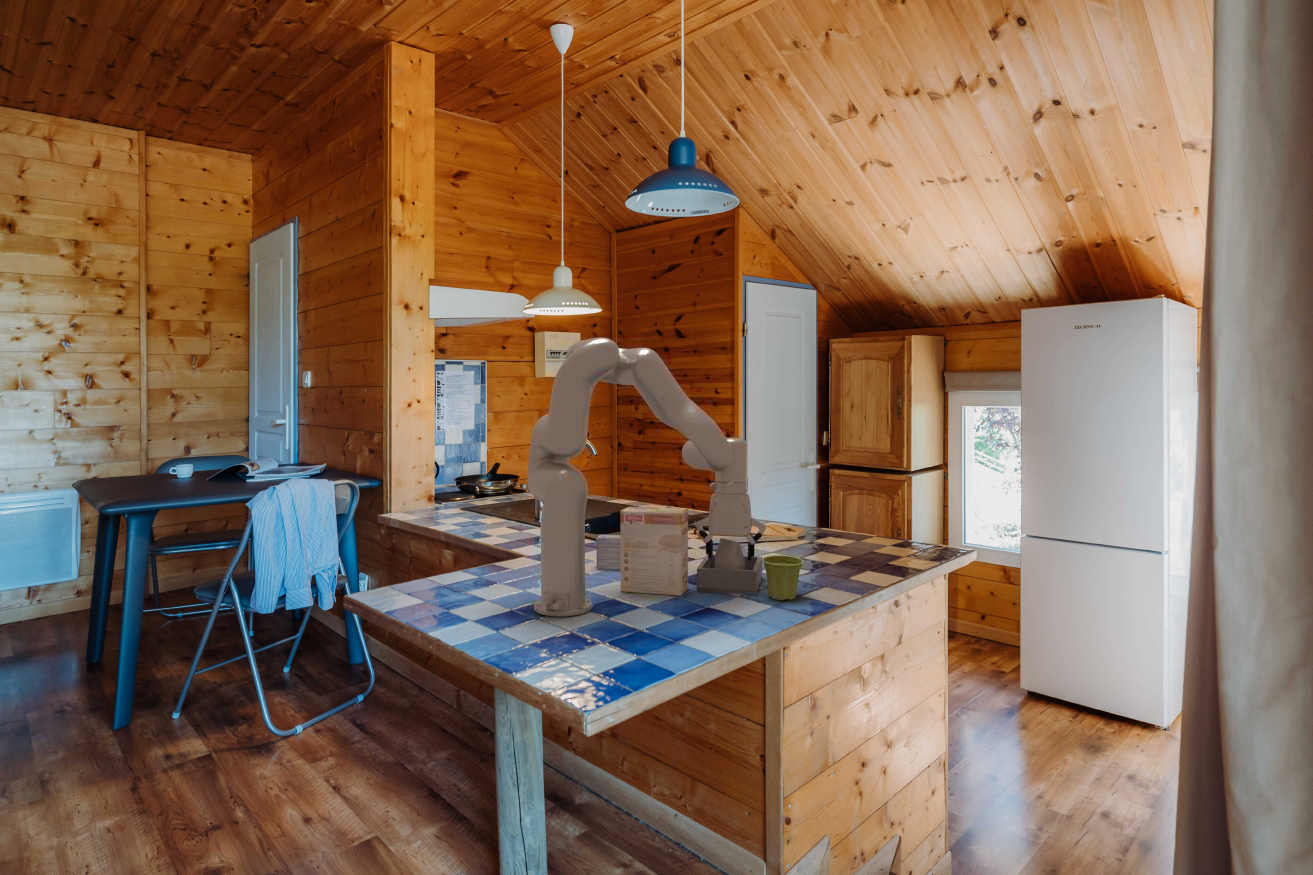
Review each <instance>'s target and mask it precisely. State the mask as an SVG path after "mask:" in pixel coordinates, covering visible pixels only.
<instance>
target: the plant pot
mask: <svg viewBox="0 0 1313 875" xmlns="http://www.w3.org/2000/svg"><path fill="white" fill-rule="evenodd" d="M804 562H805V561H804V560H803V559H802V558H800V557H797V556H792V555H767V556H764V557H762V563H763V565H764V568H765V573H766V580H767V581H766V582H767V583H766V584H767V593H768V597H770V598H771V599H773V600H776V601H777V600H779V601H785V600H788V601H789V600H791V601H792V600H794V599H796V597H797V589H798V584H799V578H800V576H799V575H800V571H801V569H802V566H803V564H804Z"/></svg>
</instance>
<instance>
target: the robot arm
mask: <svg viewBox="0 0 1313 875" xmlns="http://www.w3.org/2000/svg"><path fill="white" fill-rule="evenodd" d="M599 382H603V383H608V384H609V383H610V384H616V385H623V386H633V387H635V389H636V390H637V392H638V393H639V394H640V396H641V397H642V399H643V400H644V401H645V403H646V404H647V406H648V407H649V409H650V410H651V412H652V413H653V414H654V416H655V417H656V418H657V419H658V420H659V421H660V422H662V423H663V424H665V425H667V426H669V427H670V428H673V429H674V430H675V431H678V432H679V433H680V434H682V435H684V436H685V437H686V439H688V440H687V441H686V442H685V443H684V445H683V446H682V449H681V457H682V459H683V461H684V462H685V463H686V464H687V465H688V466H689V467H691V468H694V469H698V470H705V471H709V472H710V471H711V472H715V474H714V475H715V481H714V482H711V483H709V484H708V486H709V489H711V490H713V491H714V493H712V494H711V497H710V502H709V512H708V513H709V514H708V516H706V517H705V518H703V519H700V520H699V521H696V522H695V523H694V526H695V528H696V530H697V532H698V534H699V536H700V537H701V538H702V539H703V540H704V542H705V555H707V554H708V558H709V559H710V558H712V556H713V554H714V540H713V537H714V536H717V537H730V538H731V537H735V538H737V537H738V538H744V537H745V538H746V540H747V541H748V543H747V556H748V560H749V561H751V559H752V557H754V556H755V551H756V550H755V548H756V547H755V544H756V542H758V541H759V540H760V539H762V537H763V535H764V533H765V531H766V529H767V526H766V525H765V524H764V523H762V522H760V521H758V520H756V519H755V518H754V517H752V507H751V506H752V505H751V500H750V495H749V493H747V471H748V470H747V465H748V464H747V460H748V458H747V456H748V452H747V451H748V445H747V441H746V439H743V438H741V437H727V436H725V434H724V432H723V431H722V430H721V428H720V427H719V426H718V424H717V423H716V421H715V420H713V418H712V417H711V416H709V415H708V414H707V413H706V411H704V410H703V409H702V408H701V407H700V406H698V405H697V404H696V403H695V402H694V401H693V400H692V399H690V398H689V397H688V395H687V394H686V393H685V391H684V390H683V389H682V387H681V386H680V385H679V383H678V381H677V380H676V379H675V377H674V376H673V374H672V372H671V371H670V370H669V368H668V366H667V365H666V364H665V362H664V361H663V359H662V358H661V356H660V355H659V354H658V353H657V352H656V351H654V350H653V349H652V348H648V347H637V348H619V345H618V344H617V343H616V342H615V341H614V340H612V339H610V338H607V337H593V338H589V339H583V340H579V341H576V342H574V343H573V344H572V345H571V346H570V347H569V348H568V350H567V351H566V355H565V360H564V362H563V363H562V364H561V366H560V367H559V369H558V370H557V372H556V375H555V377H554V380H553V384H552V390H551V395H550V396H551V397H550V403H549V410H548V413H547V414H544V415H542V416H541V417H540V418H539V419H538V420H537V421H536V422H535V424H534V427H533V429H532V433H531V434H530V435H531V436H530V443H529V454H528V455H529V456H528V463H527V464H528V467H527V487H528V489H529V490H528V491H530V494H531V495H532V496H533V497H534V498H535V499H536V500H537V501H540V502H541V503H543V504H542V510H541V518H540V532H539V533H540V537H539V538H540V582H541V584H540V586H541V588H540V590H541V591H540V593H541V595H540V597H541V598H540V599H539V600H537V601H535V603H534V604H533V605H534V607H533V609H534V611H535V612H536V613H538V614H539V615H543V616H548V617H573V616H579V615H583V614H586V613H588V612H590V611H591V610H592V609H593V606H594V605H593V601H592V600H591V599H589V598H588V597H586V537H585V536H586V535H585V534H586V533H585V532H586V531H585V530H586V527H585V524H586V510H587V503H588V494H589V489H588V481H587V479H586V477H585V475H584V474H583V472H582V471H580V470H579V468H577V467H575V466H573V465H571V464H570V458H574V457H577V456H579V455H580V454H581V453H582V452H584V449H585V448H586V445H587V442H588V432H589V431H588V430H589V429H588V428H589V417H590V407H591V406H590V405H591V399H592V396H593V391H594V389H595V387H596V385H597V384H598V383H599ZM707 524H708V533H707V532H706V531H705V529H704V528H703V526H704V525H707ZM752 526H753V527H756V528H758V531H757V533H755V535H754V534H753V533H752V532H751V531H752Z"/></svg>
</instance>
